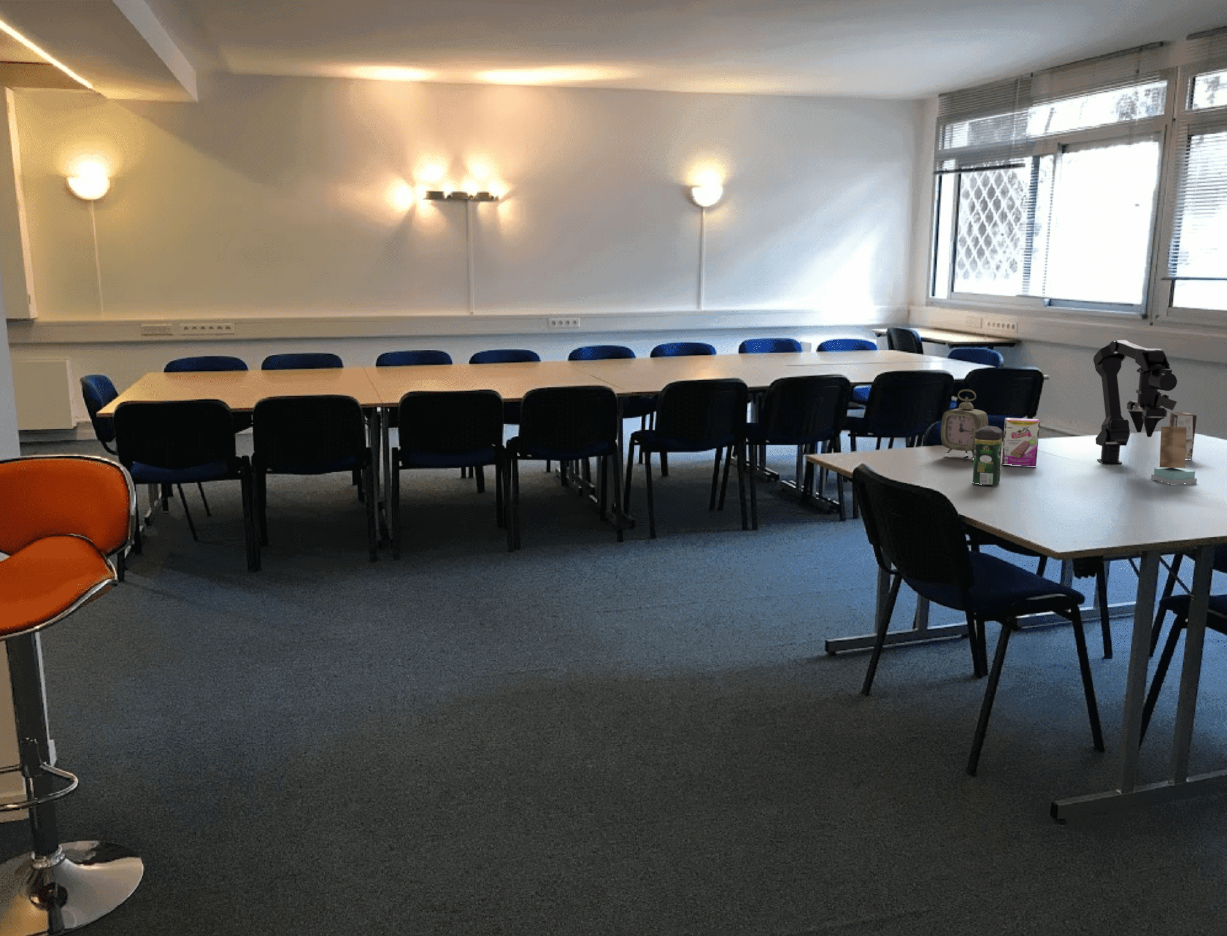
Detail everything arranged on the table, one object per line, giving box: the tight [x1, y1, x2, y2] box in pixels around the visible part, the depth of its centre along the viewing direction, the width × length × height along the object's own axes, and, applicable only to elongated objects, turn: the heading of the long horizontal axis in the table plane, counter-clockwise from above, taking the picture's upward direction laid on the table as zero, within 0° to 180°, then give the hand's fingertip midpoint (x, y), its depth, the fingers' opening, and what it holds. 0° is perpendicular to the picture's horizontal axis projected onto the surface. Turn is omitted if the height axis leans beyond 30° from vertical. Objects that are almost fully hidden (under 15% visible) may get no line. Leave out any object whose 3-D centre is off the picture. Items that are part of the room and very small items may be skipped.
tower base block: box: [1150, 473, 1198, 485], centre depth 311 cm, size 9×9×2 cm
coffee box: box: [1166, 411, 1198, 461], centre depth 346 cm, size 9×6×16 cm
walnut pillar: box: [1159, 426, 1187, 469], centre depth 311 cm, size 5×5×13 cm
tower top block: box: [1153, 467, 1196, 480], centre depth 311 cm, size 8×8×2 cm
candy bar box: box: [1001, 417, 1041, 467], centre depth 337 cm, size 11×5×16 cm, turn 71°
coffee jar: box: [972, 425, 1004, 486], centre depth 311 cm, size 10×8×19 cm
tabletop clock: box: [940, 388, 989, 459], centre depth 352 cm, size 14×9×25 cm, turn 42°
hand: (1144, 434), depth 321 cm, fingers open, 9 cm apart
